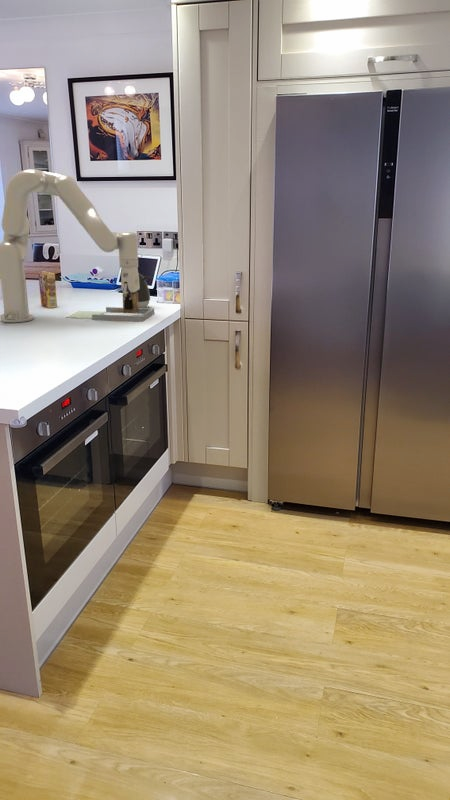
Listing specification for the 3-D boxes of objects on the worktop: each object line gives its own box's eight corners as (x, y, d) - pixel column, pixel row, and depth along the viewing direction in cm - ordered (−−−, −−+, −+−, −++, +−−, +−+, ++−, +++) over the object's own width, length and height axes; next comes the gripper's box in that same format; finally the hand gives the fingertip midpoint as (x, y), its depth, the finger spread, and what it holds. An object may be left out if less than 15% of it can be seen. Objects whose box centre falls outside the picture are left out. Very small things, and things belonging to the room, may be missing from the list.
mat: (93, 318, 256) (93, 318, 256) (66, 317, 258) (66, 317, 258) (105, 312, 269) (105, 311, 269) (79, 311, 271) (79, 310, 271)
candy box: (58, 307, 280) (55, 273, 275) (49, 308, 278) (45, 273, 273) (49, 304, 287) (46, 271, 282) (40, 305, 284) (37, 271, 279)
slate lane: (142, 321, 251) (142, 316, 250) (92, 319, 254) (91, 314, 254) (154, 313, 267) (154, 308, 266) (107, 311, 270) (106, 307, 270)
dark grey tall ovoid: (146, 310, 273) (145, 275, 269) (124, 309, 275) (122, 274, 270) (153, 306, 283) (152, 272, 278) (132, 305, 285) (130, 271, 280)
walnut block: (135, 313, 257) (134, 294, 254) (109, 312, 258) (108, 293, 256) (138, 311, 261) (137, 292, 259) (113, 310, 263) (112, 291, 261)
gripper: (131, 266, 244) (133, 312, 250) (143, 261, 260) (145, 304, 266) (112, 265, 246) (115, 311, 252) (126, 261, 262) (128, 304, 267)
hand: (130, 307), depth 259 cm, fingers closed on walnut block, 5 cm apart
